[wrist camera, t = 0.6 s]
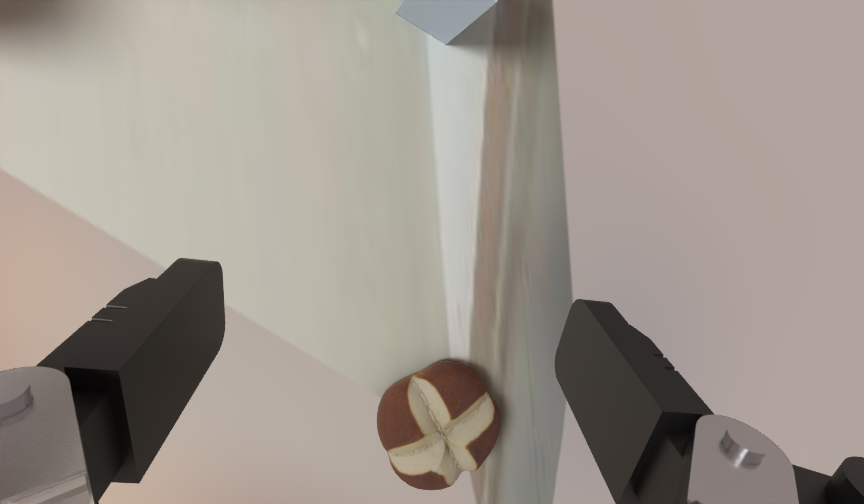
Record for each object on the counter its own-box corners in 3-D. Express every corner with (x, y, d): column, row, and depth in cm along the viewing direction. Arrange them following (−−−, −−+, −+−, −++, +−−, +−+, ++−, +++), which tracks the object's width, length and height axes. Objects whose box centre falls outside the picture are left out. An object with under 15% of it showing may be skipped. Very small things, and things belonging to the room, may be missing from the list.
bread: (399, 486, 42) (411, 526, 38) (361, 386, 39) (368, 417, 34) (502, 437, 44) (525, 470, 40) (473, 340, 41) (495, 362, 37)
